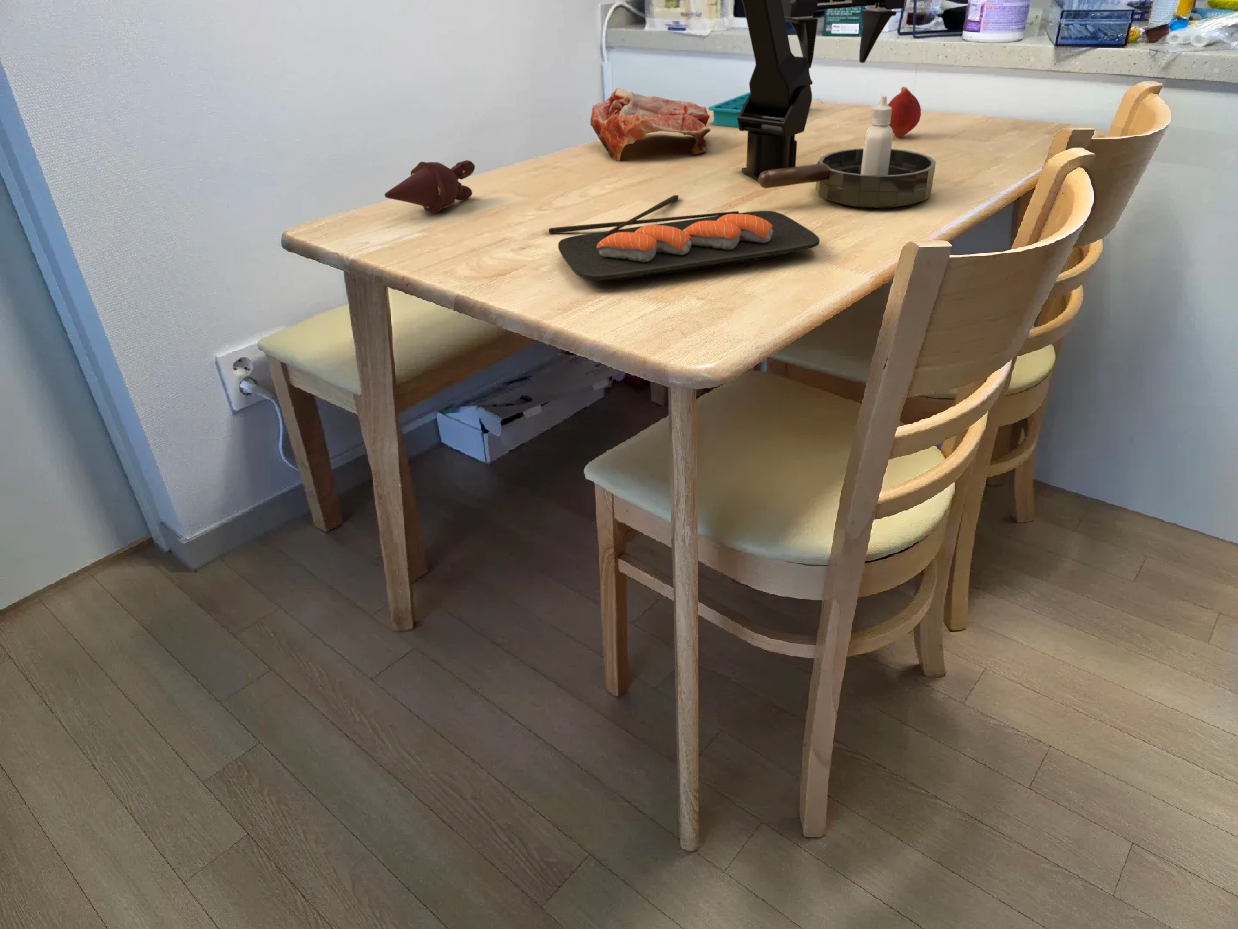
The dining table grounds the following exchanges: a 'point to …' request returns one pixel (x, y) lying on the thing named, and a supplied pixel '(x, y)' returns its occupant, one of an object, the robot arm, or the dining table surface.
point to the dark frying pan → (877, 179)
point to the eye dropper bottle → (878, 141)
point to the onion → (904, 112)
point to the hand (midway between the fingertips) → (835, 65)
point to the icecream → (434, 185)
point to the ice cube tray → (730, 111)
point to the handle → (793, 175)
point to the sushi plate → (680, 243)
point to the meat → (646, 120)
